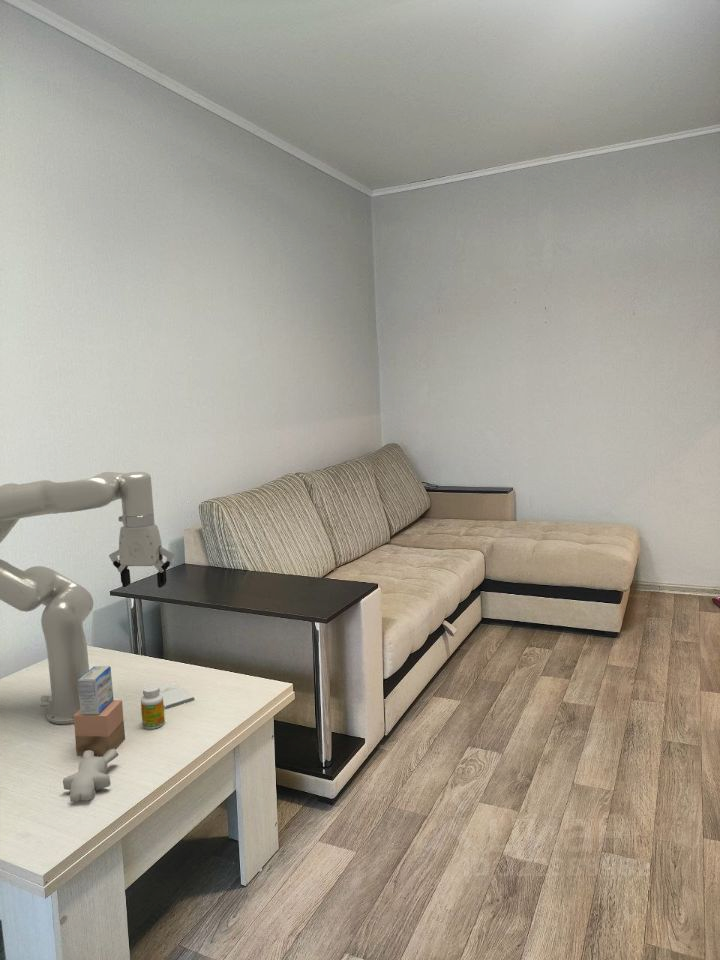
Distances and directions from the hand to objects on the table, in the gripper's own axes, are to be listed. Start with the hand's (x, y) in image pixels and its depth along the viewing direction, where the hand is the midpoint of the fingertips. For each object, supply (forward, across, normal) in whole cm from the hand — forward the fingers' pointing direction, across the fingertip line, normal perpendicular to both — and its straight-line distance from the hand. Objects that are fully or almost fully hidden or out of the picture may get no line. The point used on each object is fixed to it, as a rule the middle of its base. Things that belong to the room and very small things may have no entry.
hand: (144, 585), depth 178 cm
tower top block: (+28, -4, -20) cm, 35 cm away
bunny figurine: (+34, +2, -35) cm, 48 cm away
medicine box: (+24, -4, -20) cm, 31 cm away
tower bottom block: (+34, -4, -20) cm, 39 cm away
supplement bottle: (+34, +4, -9) cm, 35 cm away
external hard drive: (+34, +2, +6) cm, 35 cm away
